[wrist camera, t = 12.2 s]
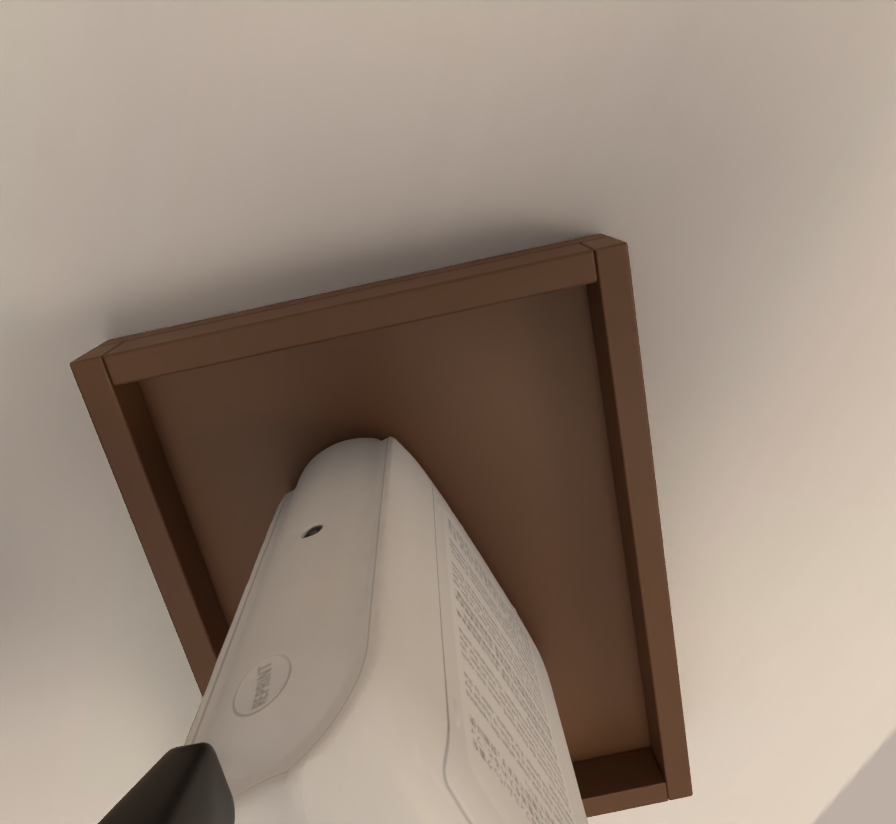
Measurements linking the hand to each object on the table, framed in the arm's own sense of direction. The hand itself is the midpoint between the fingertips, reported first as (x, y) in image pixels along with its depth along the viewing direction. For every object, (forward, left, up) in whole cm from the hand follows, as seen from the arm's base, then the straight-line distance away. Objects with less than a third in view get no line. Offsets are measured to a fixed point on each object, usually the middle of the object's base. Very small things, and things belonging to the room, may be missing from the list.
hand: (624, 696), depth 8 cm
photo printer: (-3, -6, -13) cm, 14 cm away
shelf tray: (-3, -6, -13) cm, 15 cm away
